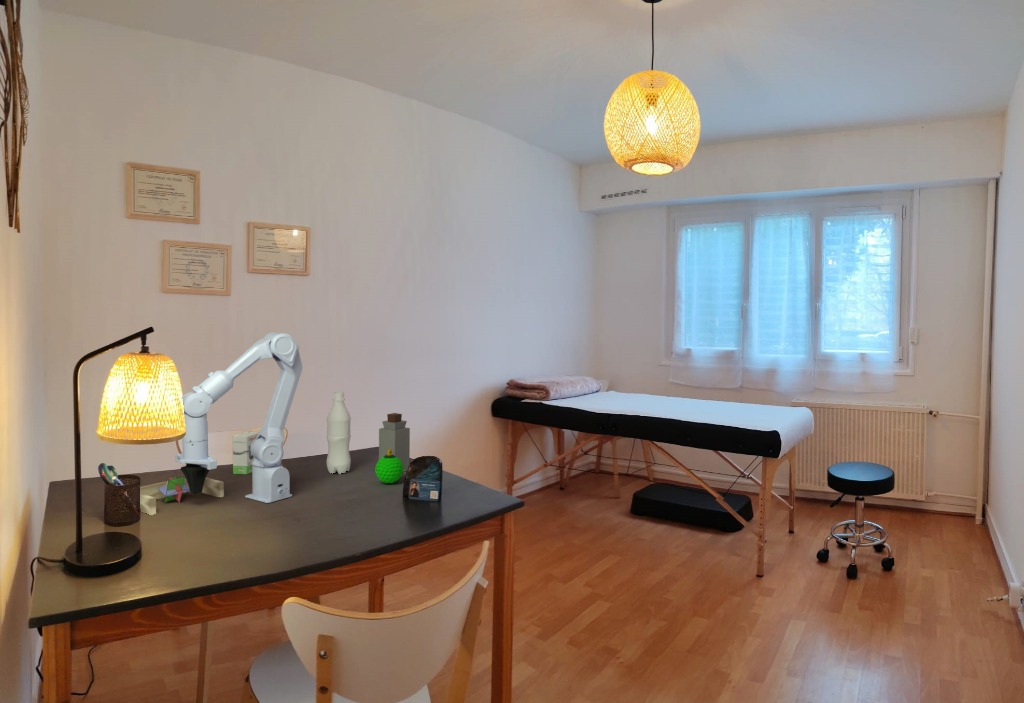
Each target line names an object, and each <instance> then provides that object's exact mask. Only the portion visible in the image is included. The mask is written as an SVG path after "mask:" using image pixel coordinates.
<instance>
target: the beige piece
mask: <svg viewBox="0 0 1024 703" xmlns="http://www.w3.org/2000/svg"><path fill="white" fill-rule="evenodd" d="M166 483H167V480H165V481H161V482H156V483H152V484H147V485H142V486H139V487H140V508H141V512H140V513H142V512H143V514H145V513H147V514H146V515H148V514H149V516H154V514H155V515H157V500H156V499H158V500H161V498H162V499H164V498H165V495H164V494H163V493H162V492H161V491H160V490H159V489H157V488H160V487H165V486H166ZM183 483H184V484H185V485H186V486H187V487H188V488H189V485H188V483H187V480H186V477H185V479H184V482H183ZM224 483H225V482H224V481H222V480H218V479H214V478H211V477H207V476H206V479H205V482H204V485H203V489H202V493H201V494H205V495H209V496H213V497H217V498H219V497H220V498H224V497H225V492H224V490H225V488H224V487H225V484H224ZM162 484H163V485H162ZM159 486H160V487H159ZM158 490H159V491H158ZM188 492H189V493H191V492H190V491H187V493H188ZM187 493H186V492H183V494H187Z"/></svg>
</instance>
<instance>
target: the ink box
mask: <svg viewBox="0 0 1024 703" xmlns="http://www.w3.org/2000/svg"><path fill="white" fill-rule="evenodd" d="M258 433H259V431H253V430H246V431H243V432H240V433H237V434H234V435H233V436H232V474H233V475H249V474H251V473H252V463H253V461H254V459H255V457H254V456H253V455H252V454H251V451H250V447H251V444H252V442H253V441H254V440H255V439H256V438H257V436H258Z"/></svg>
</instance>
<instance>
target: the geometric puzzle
mask: <svg viewBox="0 0 1024 703" xmlns="http://www.w3.org/2000/svg"><path fill="white" fill-rule="evenodd" d="M184 479H185V475H183V476H179V477H177V476H172V475H168V477H167V479H166V481H167V483H166V486H165V487H160V486H159V487H160V488H157V489H159V490H160V491H161V492H162V493H163V494H164V495H165V498H163V503H173V502H172V501H174V502H175V501H176V502H175V503H178V504H180V503H181V501H182V500H181V499H182V498H183V497H184V498H185V497H186V496H188V494H189V493H190V492H187V491H190V489H189V488H188V487H187V486H186V485H185V484H184V483H183V482H184ZM187 483H188V482H187ZM162 485H163V484H162ZM159 490H158V491H159ZM183 492H187V493H183ZM182 493H183V494H184V495H183V494H182ZM182 495H183V496H182Z"/></svg>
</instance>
